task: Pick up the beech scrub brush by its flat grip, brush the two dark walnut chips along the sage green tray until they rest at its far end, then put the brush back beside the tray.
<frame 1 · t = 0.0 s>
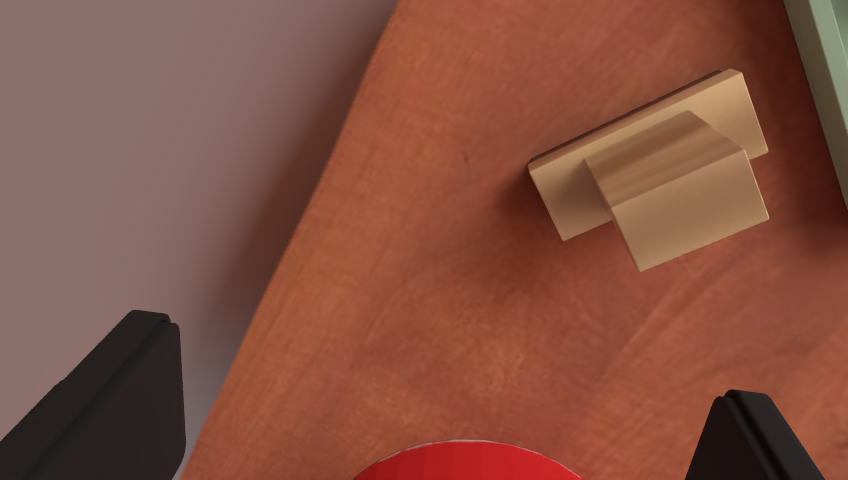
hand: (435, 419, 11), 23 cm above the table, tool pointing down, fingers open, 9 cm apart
brush: (634, 147, 32), on the table
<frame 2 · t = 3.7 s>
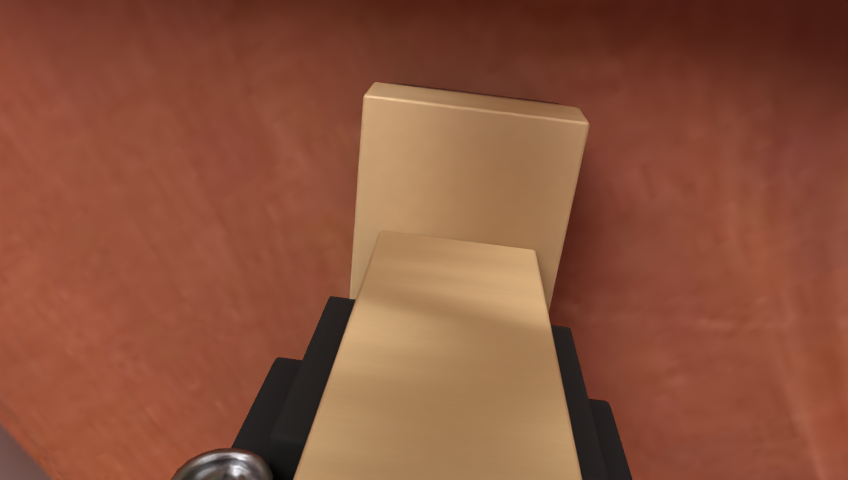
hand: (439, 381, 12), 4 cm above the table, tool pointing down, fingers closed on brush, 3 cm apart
brush: (446, 291, 15), on the table, touching gripper
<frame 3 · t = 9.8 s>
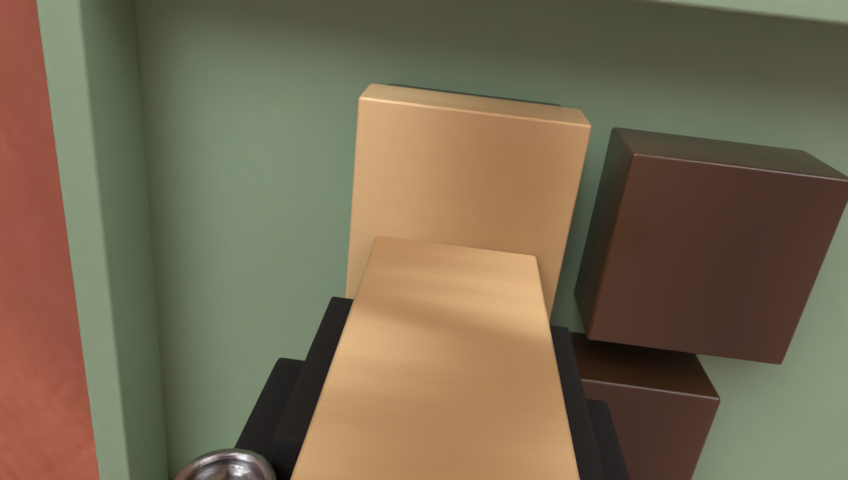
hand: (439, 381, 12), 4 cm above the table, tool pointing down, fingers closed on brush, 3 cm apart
brush: (445, 295, 15), point 1 cm above the table, touching chip a, gripper
chip b: (681, 226, 14), resting on tray
tray: (606, 307, 16), on the table
chip a: (591, 402, 16), point 1 cm above the table, touching brush
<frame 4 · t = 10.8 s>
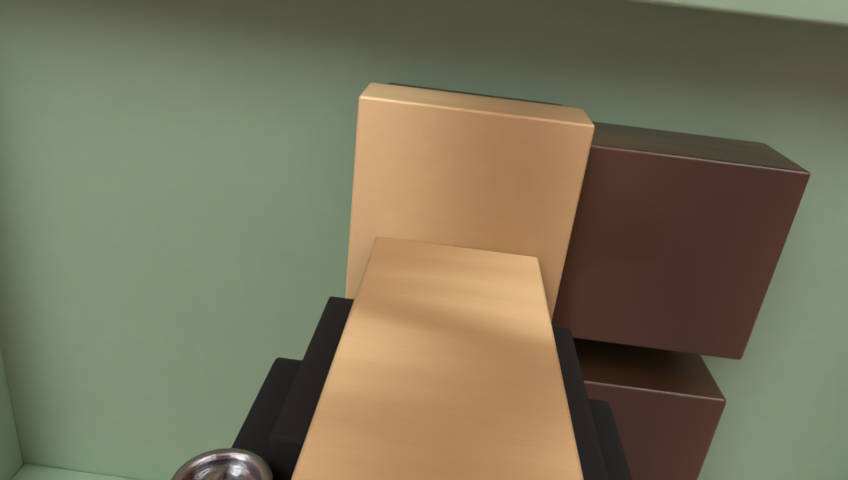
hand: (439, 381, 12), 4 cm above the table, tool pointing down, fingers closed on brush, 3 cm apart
brush: (446, 297, 15), point 1 cm above the table, touching gripper
chip b: (643, 220, 14), resting on tray
tray: (437, 288, 16), on the table
chip a: (595, 404, 16), resting on tray
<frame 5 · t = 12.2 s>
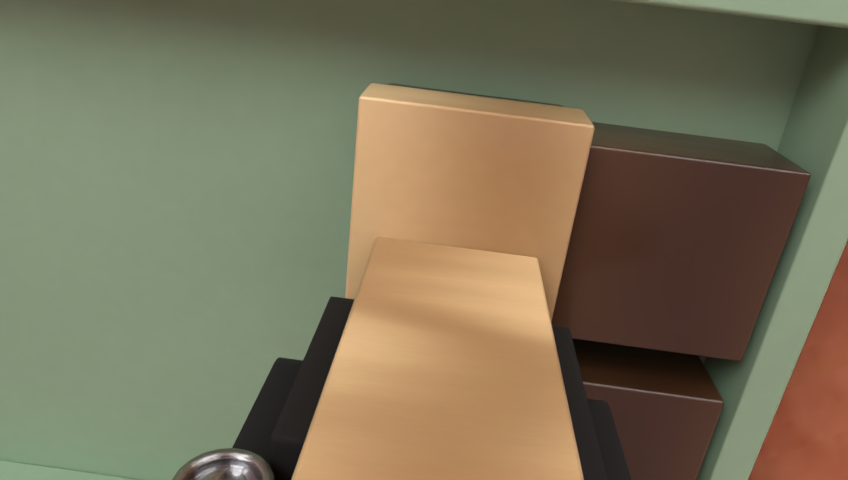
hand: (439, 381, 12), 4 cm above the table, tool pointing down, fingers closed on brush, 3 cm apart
brush: (445, 298, 15), point 1 cm above the table, touching chip a, chip b, gripper, tray
chip b: (643, 220, 14), resting on tray, touching brush
tray: (253, 265, 16), on the table
chip a: (593, 405, 16), resting on tray, touching brush
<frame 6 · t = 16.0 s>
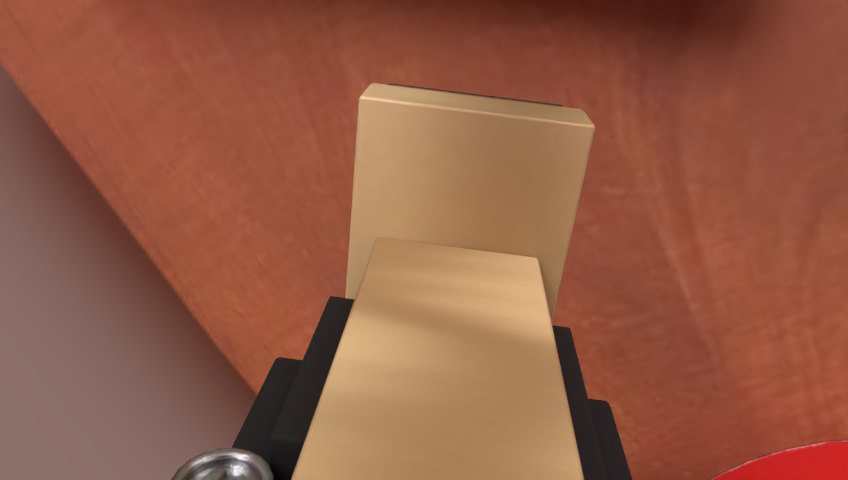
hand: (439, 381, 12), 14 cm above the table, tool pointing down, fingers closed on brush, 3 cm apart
brush: (446, 298, 15), point 11 cm above the table, touching gripper
when the fingers open (3 cm above the table, at t = 18.8 s): brush stays where it is, on the table.
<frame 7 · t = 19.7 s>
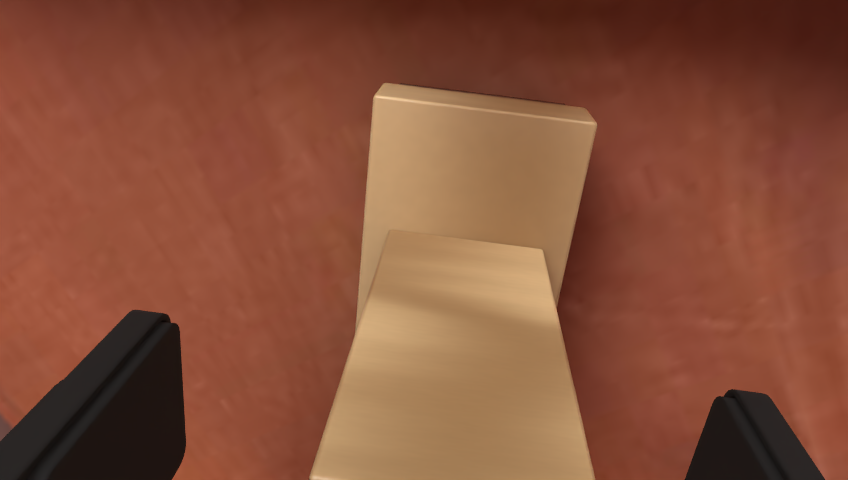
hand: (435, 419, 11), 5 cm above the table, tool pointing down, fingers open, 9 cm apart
brush: (453, 290, 16), on the table
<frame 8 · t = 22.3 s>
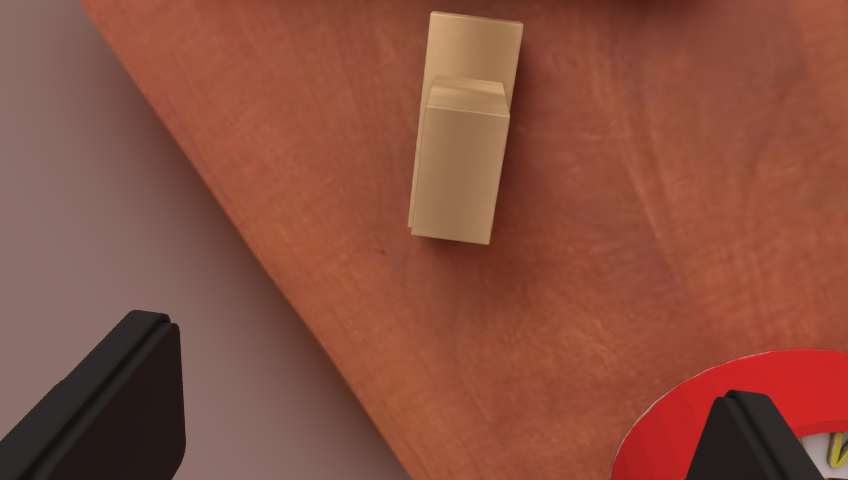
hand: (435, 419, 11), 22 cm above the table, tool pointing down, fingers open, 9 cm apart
brush: (462, 120, 32), on the table
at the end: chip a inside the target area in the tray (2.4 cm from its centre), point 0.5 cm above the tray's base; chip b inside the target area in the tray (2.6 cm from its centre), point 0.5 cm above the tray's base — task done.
